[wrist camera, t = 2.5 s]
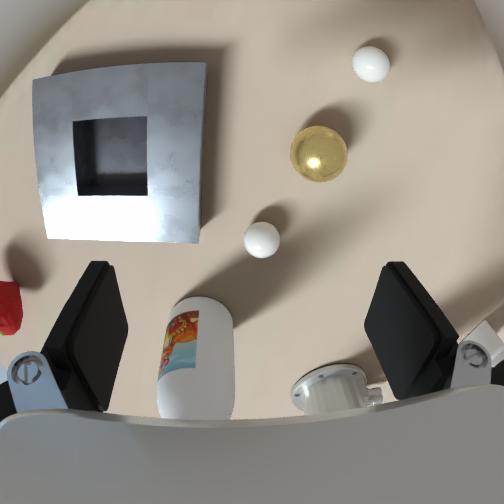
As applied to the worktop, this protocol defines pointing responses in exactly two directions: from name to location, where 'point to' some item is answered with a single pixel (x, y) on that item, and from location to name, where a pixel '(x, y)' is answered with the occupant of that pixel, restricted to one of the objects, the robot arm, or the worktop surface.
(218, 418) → the milk bottle
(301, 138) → the brass ball
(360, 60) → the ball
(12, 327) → the strawberry
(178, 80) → the plate
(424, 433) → the robot arm
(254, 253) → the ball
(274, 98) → the worktop surface
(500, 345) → the medicine bottle
